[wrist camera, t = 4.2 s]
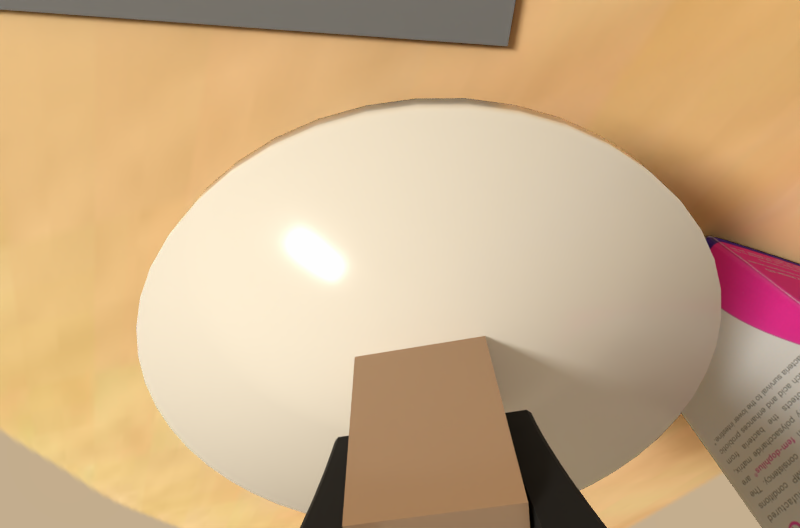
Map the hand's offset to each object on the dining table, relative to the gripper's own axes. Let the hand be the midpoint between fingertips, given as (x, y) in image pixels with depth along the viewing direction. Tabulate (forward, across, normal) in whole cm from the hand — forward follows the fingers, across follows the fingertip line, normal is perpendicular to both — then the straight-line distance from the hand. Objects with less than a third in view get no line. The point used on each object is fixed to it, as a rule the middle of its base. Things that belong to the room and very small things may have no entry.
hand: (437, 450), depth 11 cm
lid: (+2, 0, 0) cm, 2 cm away
